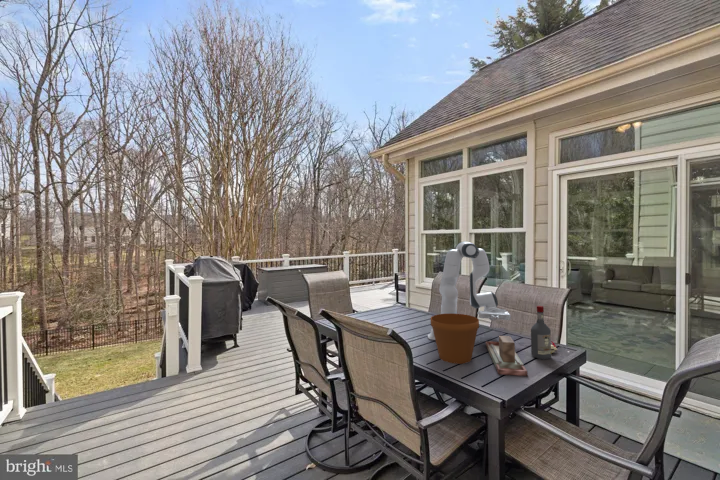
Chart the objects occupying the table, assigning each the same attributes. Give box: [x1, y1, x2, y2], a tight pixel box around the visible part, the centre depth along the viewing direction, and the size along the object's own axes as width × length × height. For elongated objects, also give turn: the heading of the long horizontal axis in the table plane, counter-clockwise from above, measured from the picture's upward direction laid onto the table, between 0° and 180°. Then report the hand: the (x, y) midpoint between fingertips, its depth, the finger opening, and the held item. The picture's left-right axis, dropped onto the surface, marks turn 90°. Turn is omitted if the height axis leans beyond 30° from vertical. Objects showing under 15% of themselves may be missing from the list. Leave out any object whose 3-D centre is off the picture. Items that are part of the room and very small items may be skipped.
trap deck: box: [485, 340, 528, 377], centre depth 197 cm, size 14×48×4 cm, turn 167°
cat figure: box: [551, 340, 558, 355], centre depth 213 cm, size 10×9×25 cm
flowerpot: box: [430, 313, 480, 365], centre depth 200 cm, size 28×28×24 cm
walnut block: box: [498, 335, 516, 363], centre depth 189 cm, size 6×12×11 cm, turn 167°
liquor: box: [530, 305, 552, 360], centre depth 198 cm, size 9×9×30 cm
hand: (495, 318), depth 218 cm, fingers closed
